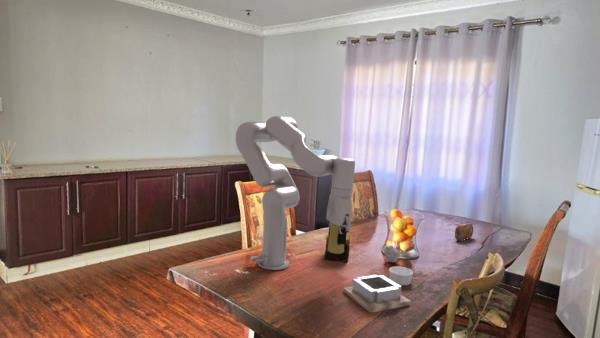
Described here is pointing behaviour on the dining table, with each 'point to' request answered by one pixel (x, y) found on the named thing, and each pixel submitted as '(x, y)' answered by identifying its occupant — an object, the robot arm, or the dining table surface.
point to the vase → (335, 240)
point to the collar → (384, 294)
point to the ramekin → (401, 275)
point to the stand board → (373, 306)
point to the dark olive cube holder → (338, 257)
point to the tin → (463, 231)
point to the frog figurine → (391, 253)
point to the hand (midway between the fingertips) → (336, 240)
